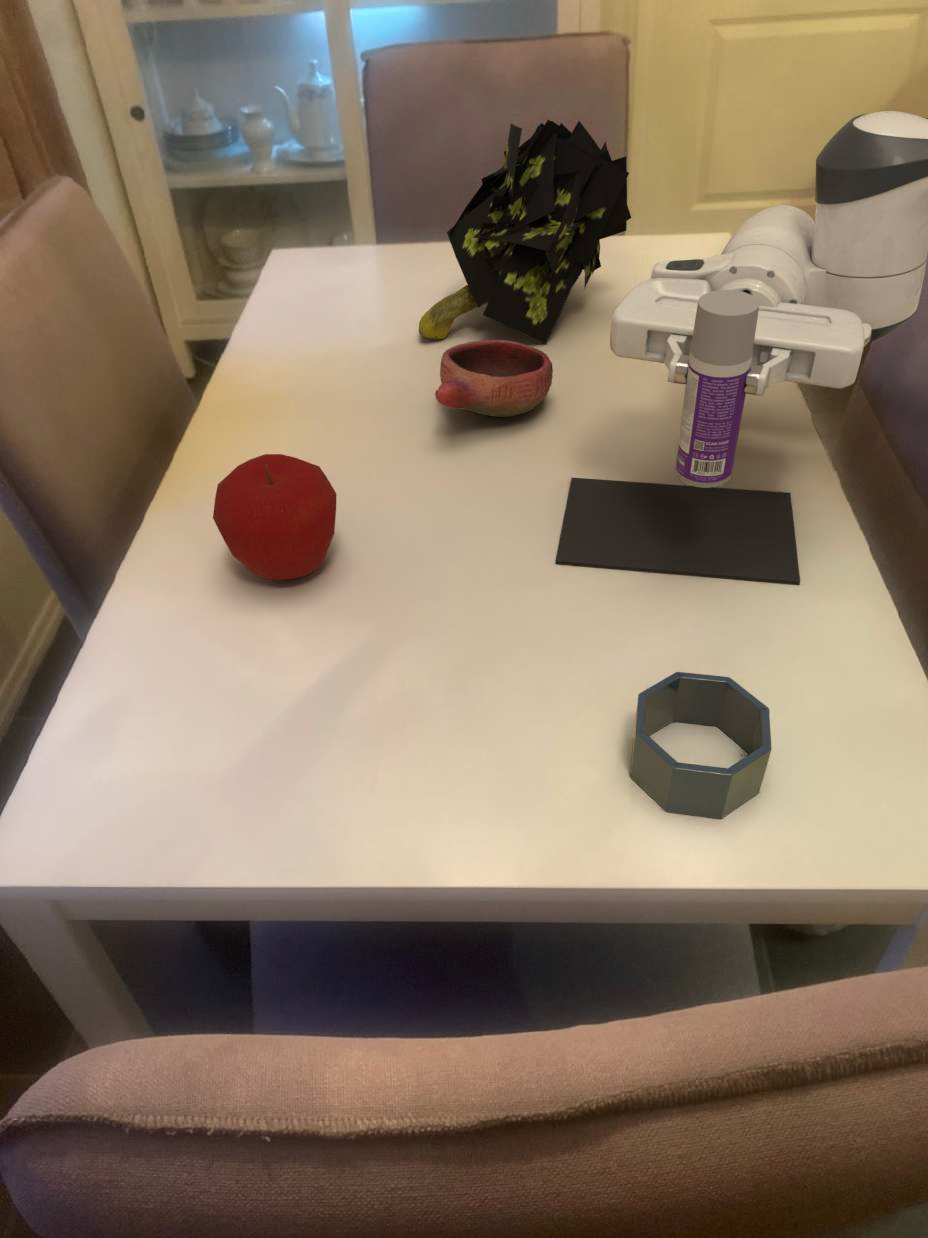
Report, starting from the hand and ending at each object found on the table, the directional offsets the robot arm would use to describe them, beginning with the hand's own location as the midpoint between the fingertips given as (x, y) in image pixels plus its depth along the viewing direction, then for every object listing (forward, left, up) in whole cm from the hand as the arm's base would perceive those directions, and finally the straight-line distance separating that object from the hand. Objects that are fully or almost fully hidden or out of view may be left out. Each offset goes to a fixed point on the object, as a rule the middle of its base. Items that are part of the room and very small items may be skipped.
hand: (714, 380), depth 71 cm
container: (0, -1, -9) cm, 9 cm away
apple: (+37, +5, -19) cm, 42 cm away
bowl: (+22, -25, -19) cm, 39 cm away
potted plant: (+24, -51, -19) cm, 60 cm away
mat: (+1, -6, -19) cm, 20 cm away
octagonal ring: (-1, +23, -19) cm, 30 cm away
